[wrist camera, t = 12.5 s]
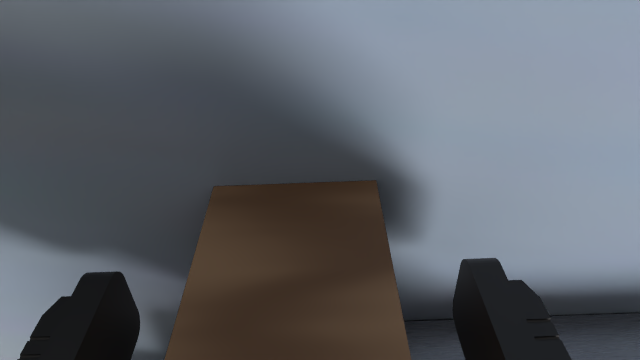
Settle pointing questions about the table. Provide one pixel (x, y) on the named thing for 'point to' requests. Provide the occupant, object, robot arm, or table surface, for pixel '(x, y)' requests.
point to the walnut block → (291, 277)
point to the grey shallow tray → (575, 331)
